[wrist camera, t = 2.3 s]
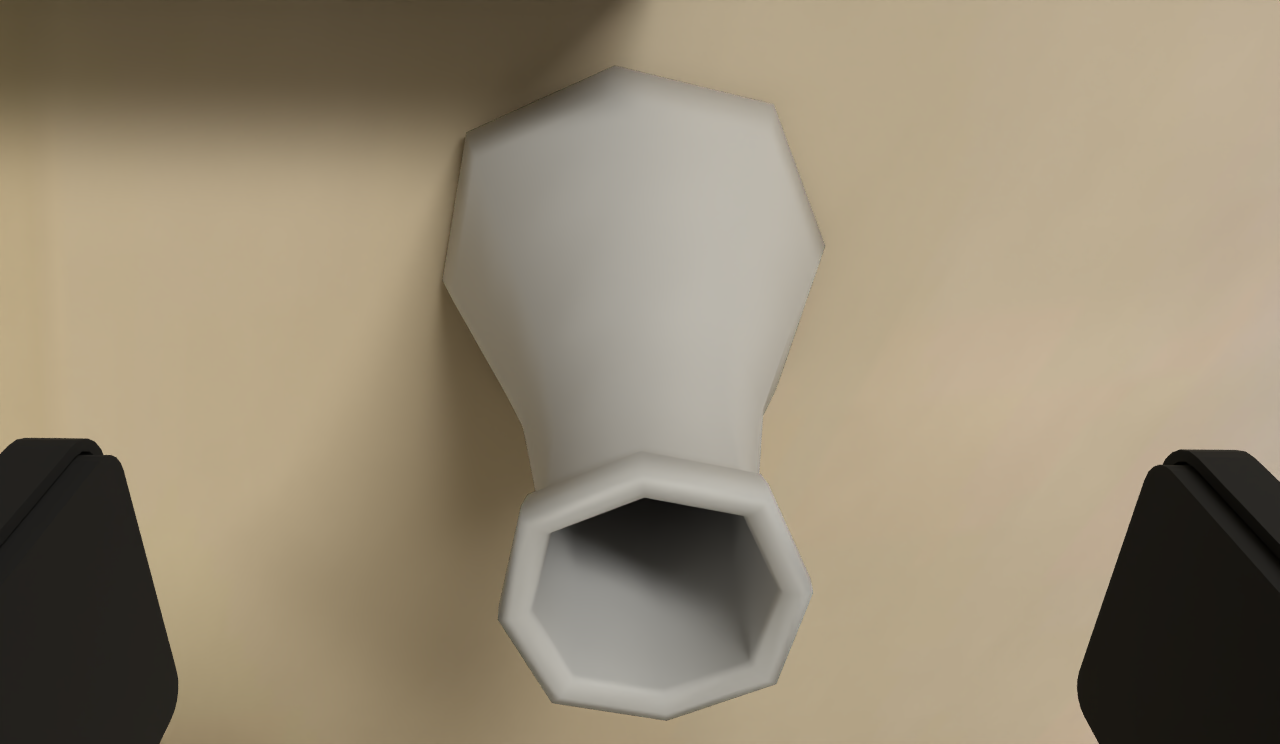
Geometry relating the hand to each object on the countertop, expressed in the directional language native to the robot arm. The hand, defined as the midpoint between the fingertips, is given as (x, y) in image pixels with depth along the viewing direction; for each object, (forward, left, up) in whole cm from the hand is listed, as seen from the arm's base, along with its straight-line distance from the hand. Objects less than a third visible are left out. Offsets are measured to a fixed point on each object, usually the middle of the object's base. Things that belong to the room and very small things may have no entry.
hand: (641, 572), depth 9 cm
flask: (-1, 0, -11) cm, 11 cm away
